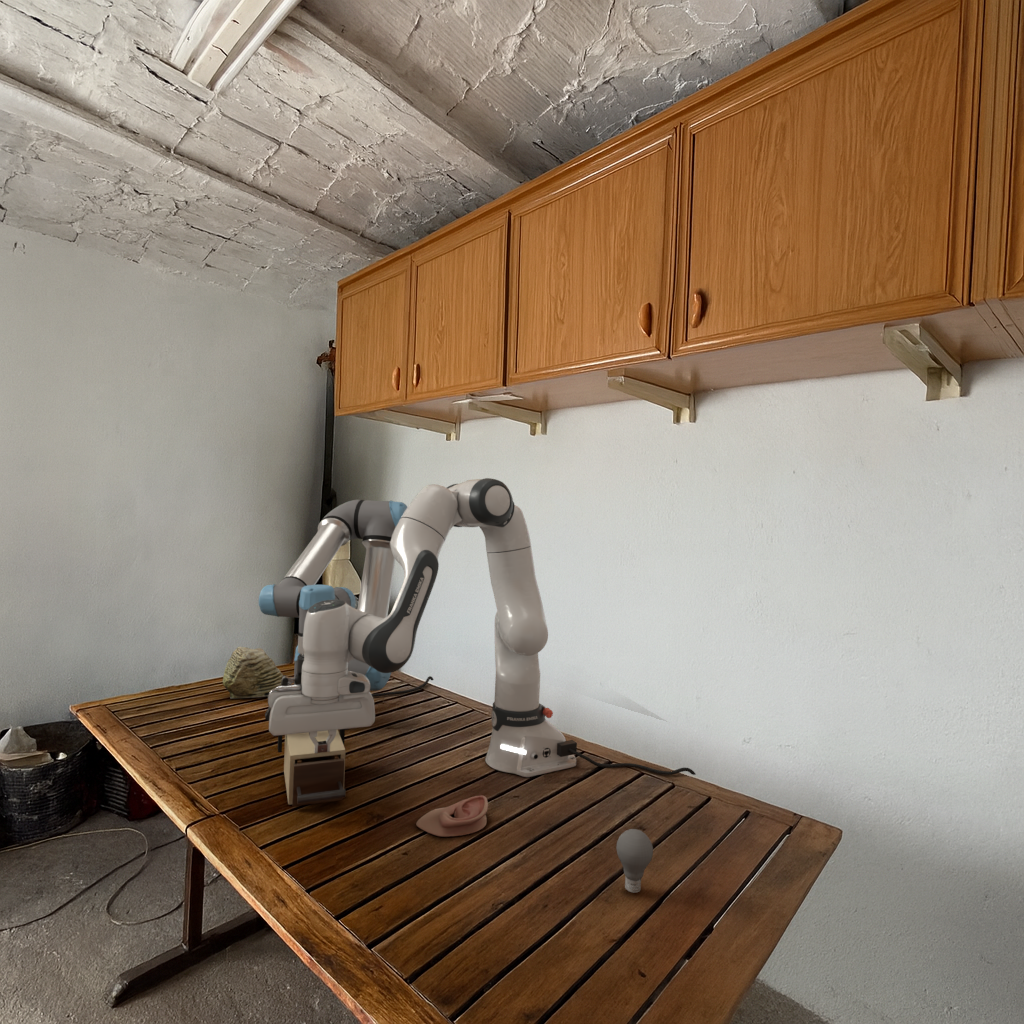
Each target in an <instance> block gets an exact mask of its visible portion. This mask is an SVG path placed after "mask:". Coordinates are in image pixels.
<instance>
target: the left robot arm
mask: <svg viewBox="0 0 1024 1024" xmlns="http://www.w3.org/2000/svg"><path fill="white" fill-rule="evenodd" d="M407 507H408V505H407V504H406V503H404V502H402V501H393V500H373V499H371V500H370V499H353V500H349V501H346V502H344V503H342V504H339V505H338V506H336V507H335V508H333V509H332V510H330V511H329V512H328V513H327V514H326V515H325V516H324V517H323V518H322V519H321V521H320V522H319V523H318V524H317V532H316V534H315V535H314V536H313V537H312V539H311V540H310V542H309V543H308V544H307V545H306V547H305V548H304V550H303V551H302V552H301V554H300V555H299V556H298V558H297V559H296V560H295V562H294V563H293V564H292V566H291V567H290V568H289V570H288V571H287V572H286V574H285V575H284V577H283V578H282V579H281V581H280V582H279V583H278V584H276V583H273V584H267V585H264V586H263V587H262V589H261V590H260V592H259V596H258V607H259V611H260V612H261V613H262V614H264V615H267V616H272V617H277V618H279V617H280V618H281V617H282V618H297V619H298V634H297V645H296V647H295V652H294V653H295V654H294V659H293V661H294V672H293V676H288V675H286V674H285V675H284V674H283V677H282V681H281V686H290V685H297V684H301V676H302V664H303V661H304V651H303V631H304V623H305V618H306V614H307V611H308V609H309V608H310V607H311V606H312V605H314V604H315V603H318V602H321V601H325V600H334V599H337V600H343V601H345V602H346V603H347V604H348V605H349V606H351V607H353V608H355V609H357V610H360V611H362V612H365V613H369V614H372V615H376V616H378V617H381V618H386V617H387V616H388V615H389V607H390V601H391V593H392V587H393V581H394V580H393V579H394V572H395V566H396V559H395V557H394V556H393V553H392V551H391V546H390V541H391V538H392V535H393V532H394V530H395V528H396V526H397V524H398V522H399V520H400V519H401V517H402V515H403V513H404V512H405V510H406V509H407ZM355 539H357V540H358V539H359V540H362V541H361V543H362V545H363V546H364V548H365V550H366V551H365V556H364V557H365V558H364V564H363V570H362V577H361V583H360V590H359V597H358V602H357V601H356V600H357V599H356V595H355V594H354V592H353V591H352V590H351V589H349V588H348V587H345V586H335V587H333V586H332V585H328V584H317V583H318V582H319V580H320V578H321V576H322V575H323V574H324V572H325V570H326V569H327V567H328V566H329V565H330V563H331V562H332V560H333V559H334V557H335V556H336V554H337V553H338V551H339V550H340V548H341V547H343V546H345V545H347V543H349V541H350V540H355ZM356 603H357V604H356ZM356 605H357V608H356ZM348 671H352V672H356V673H360V674H363V675H365V676H366V677H367V678H368V680H369V682H370V691H369V692H371V691H373V692H377V691H381V690H382V689H383V688H384V687H385V686H386V685H387V684H388V682H389V680H390V677H391V675H392V672H391V673H382V672H379V671H377V670H375V669H374V668H372V667H371V666H369V665H368V664H366V663H363V662H361V661H358V660H356V659H355V660H350V661H349V662H348ZM429 681H434V678H433V676H431V675H429V676H428V677H427V678H426V679H425V681H424V683H422V684H420V685H418V686H416V687H413V688H411V689H405V690H396V691H395V690H394V691H387V692H379V693H371V695H372V697H373V698H376V697H384V696H392V695H404V694H409V693H412V692H416V691H418V690H421V689H422V688H424V687H425V686H426V685H428V683H429ZM300 690H301V689H300ZM270 711H271V708H270V707H269V706H268V707H267V709H266V711H265V713H264V717H265V718H264V719H265V721H268V722H269V718H270ZM349 729H350V728H348V729H339V734H340V737H341V739H342V742H343V745H344V746H345V739H346V737H345V735H346V734H345V733H346V731H347V730H349ZM273 737H276V736H273ZM282 752H283V735H278V736H277V753H282Z"/></svg>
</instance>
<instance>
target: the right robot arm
mask: <svg viewBox="0 0 1024 1024" xmlns="http://www.w3.org/2000/svg"><path fill="white" fill-rule="evenodd" d="M512 495H513V494H512V493H511V490H510V489H509V487H508V486H507V485H506V484H505V483H504V482H503V481H501V480H499V479H496V478H490V477H485V478H475V479H468V480H466V481H465V480H464V481H462V482H459V483H453V484H451V485H448V486H447V487H445V486H443V485H440V484H427V485H425V486H424V487H422V488H421V489H420V490H419V492H418V493H417V494H416V495H415V496H414V498H413V499H412V500H411V501H410V503H409V504H408V505H407V509H406V510H405V512H404V513H403V515H402V517H401V519H400V520H399V522H398V524H397V526H396V528H395V530H394V532H393V535H392V538H391V541H390V546H391V551H392V553H393V556H394V557H395V561H396V562H397V563H398V564H399V565H400V566H401V567H402V570H403V574H404V576H403V582H402V584H401V586H400V589H399V591H398V595H397V596H396V599H395V602H394V604H393V606H392V609H391V611H390V613H388V615H387V617H386V618H381V617H378V616H376V615H372V614H369V613H365V612H362V611H360V610H357V608H356V607H355V608H353V607H351V606H349V605H348V604H347V603H346V602H345V601H343V600H337V599H334V600H325V601H321V602H318V603H315V604H314V605H312V606H311V607H310V608H309V609H308V611H307V614H306V618H305V623H304V631H303V651H304V661H303V664H302V676H301V684H297V685H294V684H291V685H290V686H277V688H275V689H273V690H272V691H270V693H269V695H268V696H267V706H268V708H269V707H270V708H271V711H270V718H269V721H268V732H269V733H270V734H271V735H272V736H273V737H274V736H275V737H278V735H282V736H285V735H288V734H298V733H308V732H309V736H310V739H311V740H312V742H313V744H314V753H323V752H330V743H331V742H332V741H333V739H334V738H335V736H336V730H338V731H339V730H340V729H348V728H349V729H357V728H368V727H372V726H373V724H374V723H375V721H376V707H375V700H374V697H372V695H371V694H372V693H371V691H370V682H369V680H368V678H367V677H366V676H365V675H363V674H360V673H356V672H352V671H348V662H349V661H350V660H355V659H356V660H358V661H361V662H363V663H366V664H368V665H369V666H371V667H372V668H374V669H375V670H377V671H379V672H382V673H391V674H392V673H395V672H396V671H398V670H400V669H401V668H403V667H404V666H405V665H406V664H407V663H408V661H409V660H410V658H411V657H412V655H413V652H414V648H415V644H416V637H417V632H418V629H419V625H420V624H421V623H420V622H421V620H422V617H423V615H424V612H425V610H426V608H427V607H426V606H427V604H428V601H429V600H430V599H429V598H430V596H431V594H432V591H433V588H434V585H435V582H436V580H437V577H438V572H439V565H440V564H439V556H440V553H441V551H442V548H443V546H444V544H445V542H446V539H447V538H448V536H449V533H450V531H451V530H452V528H453V527H454V528H478V527H479V529H480V530H481V531H482V533H483V536H484V542H485V543H484V544H485V550H486V551H485V552H486V558H487V565H488V572H489V578H490V585H491V588H492V593H493V597H494V602H495V607H496V613H495V616H494V661H495V676H494V677H495V678H494V679H495V680H494V681H495V682H494V701H493V702H492V707H491V708H492V709H491V728H492V730H491V736H490V741H489V744H488V745H489V746H488V749H487V753H486V755H485V758H484V761H485V763H486V764H487V766H489V767H490V768H492V769H494V770H496V771H500V772H503V773H509V774H513V775H517V776H519V777H523V778H530V777H531V778H532V777H536V776H539V775H544V774H547V773H553V772H558V771H562V770H566V769H570V768H575V767H576V766H577V758H576V756H577V757H578V758H581V759H583V760H585V761H587V762H589V763H590V764H592V765H594V766H596V767H599V768H604V769H609V768H610V769H611V768H612V769H613V768H636V769H640V770H644V771H646V772H650V773H652V774H653V773H654V774H656V775H657V774H659V775H662V776H663V775H664V776H673V775H676V774H679V773H683V772H688V773H690V774H691V775H693V776H695V775H697V774H696V772H695V771H694V770H693V769H692V768H689V767H680V768H677V769H673V770H660V769H655V768H652V767H649V766H646V765H642V764H638V763H631V762H619V763H602V762H601V763H600V762H597V761H595V760H593V759H592V758H590V757H589V756H587V755H585V754H582V753H580V752H579V751H578V742H577V741H575V740H573V739H570V740H566V737H565V735H564V734H563V733H562V731H561V730H559V729H558V727H556V726H555V725H554V724H552V723H551V722H550V721H549V720H548V719H551V718H552V716H554V712H553V710H552V709H551V708H549V707H546V706H545V705H543V704H541V703H540V692H541V691H540V690H541V668H540V659H539V653H540V652H542V650H543V649H544V648H545V646H546V645H547V643H548V639H549V630H548V624H547V619H546V615H545V610H544V605H543V602H542V596H541V592H540V589H539V585H538V581H537V575H536V570H535V563H534V557H533V549H532V543H531V542H532V541H531V537H530V533H529V528H528V525H527V522H526V518H525V516H524V513H523V511H522V509H521V508H520V507H519V506H518V505H515V502H514V499H513V496H512ZM300 689H301V690H300ZM275 690H277V691H275ZM274 691H275V692H274ZM546 718H547V719H546ZM349 729H348V730H349ZM318 731H328V733H329V736H328V738H327V739H326V741H317V740H316V738H315V737H317V732H318ZM671 771H672V772H671Z"/></svg>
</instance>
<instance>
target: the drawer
mask: <svg viewBox="0 0 1024 1024" xmlns="http://www.w3.org/2000/svg"><path fill="white" fill-rule="evenodd" d="M343 787H344V789H343ZM346 792H347V791H346V788H345V776H344V758H342V759H339V757H338V755H331V756H322V757H313V758H304V759H296V760H295V764H294V772H293V798H292V804H291V805H292V808H293V807H301V806H308V805H315V804H323V803H328V802H329V803H330V802H336V801H343V800H344V798H346V795H347V794H346Z"/></svg>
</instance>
